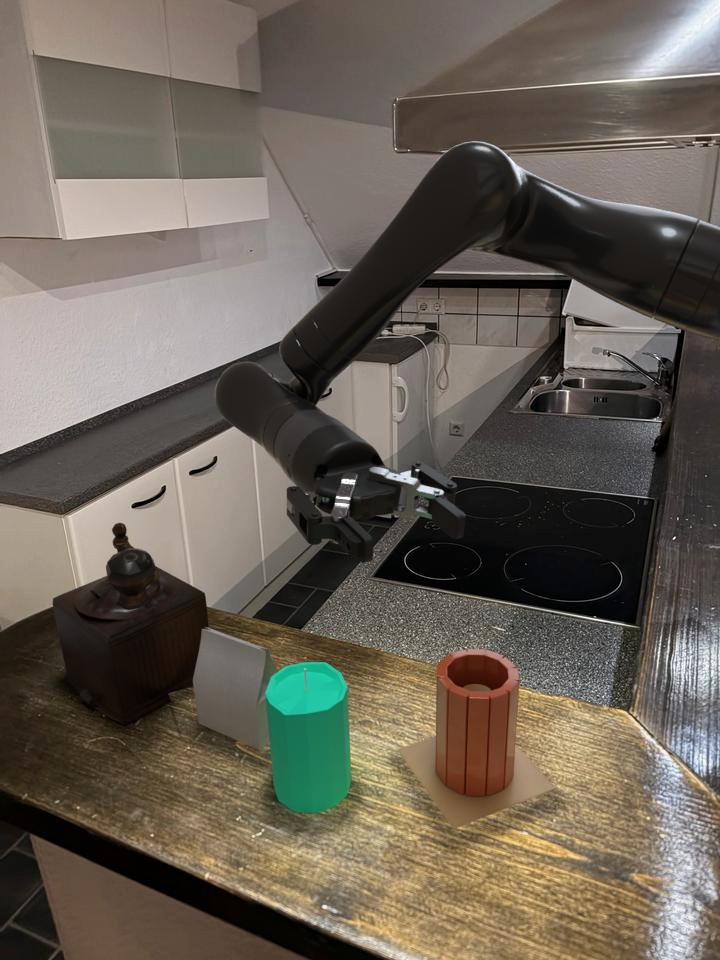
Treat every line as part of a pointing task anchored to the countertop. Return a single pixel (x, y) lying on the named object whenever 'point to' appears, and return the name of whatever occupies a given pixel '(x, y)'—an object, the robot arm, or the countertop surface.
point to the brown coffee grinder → (130, 634)
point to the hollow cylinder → (476, 722)
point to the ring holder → (460, 806)
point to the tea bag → (233, 687)
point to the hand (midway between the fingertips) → (416, 540)
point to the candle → (309, 736)
